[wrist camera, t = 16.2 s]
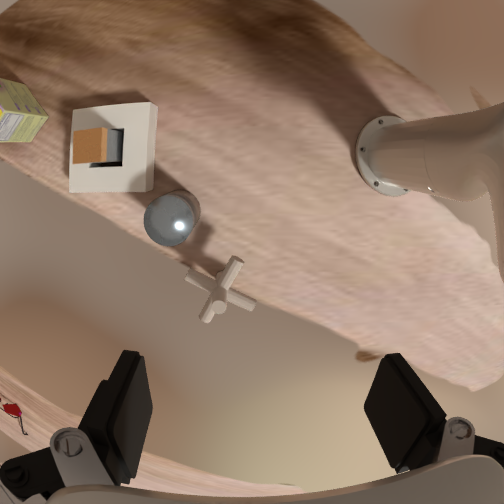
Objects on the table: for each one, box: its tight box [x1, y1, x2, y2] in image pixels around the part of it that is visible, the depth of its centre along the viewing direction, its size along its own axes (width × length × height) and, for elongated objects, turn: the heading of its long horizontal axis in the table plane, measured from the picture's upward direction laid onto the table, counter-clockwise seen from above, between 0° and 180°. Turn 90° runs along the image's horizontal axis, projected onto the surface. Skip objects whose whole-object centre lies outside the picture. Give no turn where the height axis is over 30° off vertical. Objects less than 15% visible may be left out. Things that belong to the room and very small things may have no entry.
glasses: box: [0, 398, 28, 435], centre depth 52 cm, size 14×16×5 cm
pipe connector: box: [185, 255, 256, 323], centre depth 40 cm, size 10×10×10 cm
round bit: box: [144, 190, 201, 246], centre depth 37 cm, size 6×6×8 cm
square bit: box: [73, 127, 124, 164], centre depth 33 cm, size 4×4×10 cm
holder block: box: [69, 102, 158, 193], centre depth 36 cm, size 12×12×4 cm
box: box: [0, 78, 49, 142], centre depth 29 cm, size 10×6×12 cm, turn 40°
